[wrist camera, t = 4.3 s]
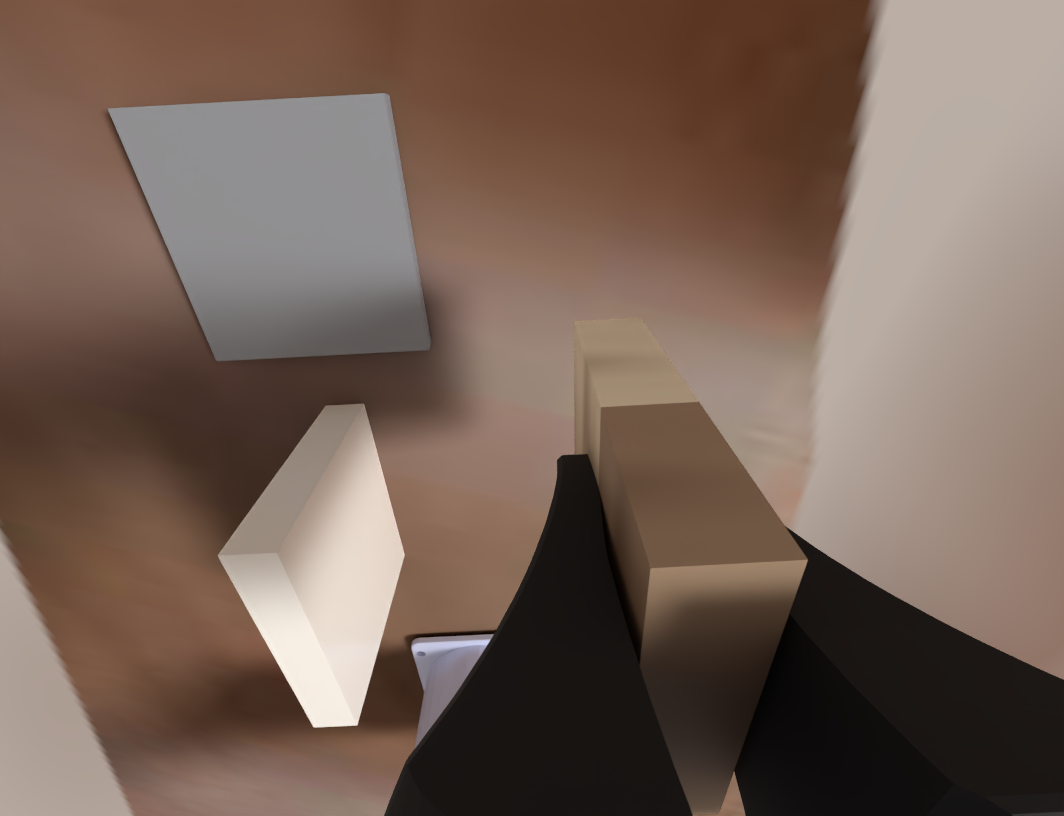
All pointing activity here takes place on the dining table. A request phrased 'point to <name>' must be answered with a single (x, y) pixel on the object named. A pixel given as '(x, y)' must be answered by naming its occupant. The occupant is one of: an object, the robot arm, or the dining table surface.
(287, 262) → the mat
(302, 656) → the tile
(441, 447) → the dining table surface
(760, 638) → the stepped beige block
